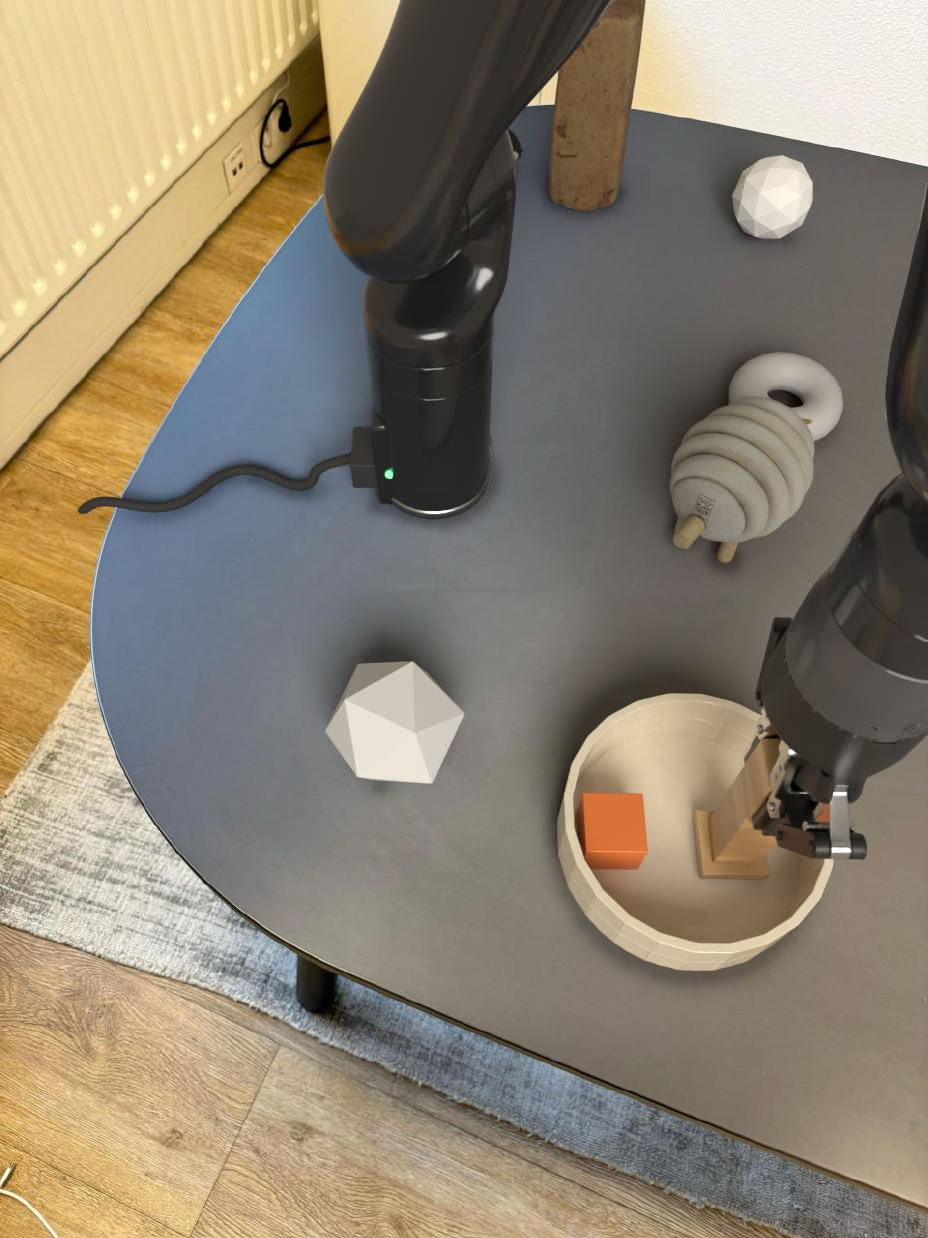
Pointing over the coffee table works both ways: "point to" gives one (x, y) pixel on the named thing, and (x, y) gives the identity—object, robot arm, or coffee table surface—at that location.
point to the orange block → (612, 830)
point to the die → (394, 723)
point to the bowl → (679, 838)
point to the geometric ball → (772, 197)
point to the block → (595, 110)
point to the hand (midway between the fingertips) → (765, 795)
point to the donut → (793, 387)
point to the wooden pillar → (738, 823)
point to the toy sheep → (740, 473)
